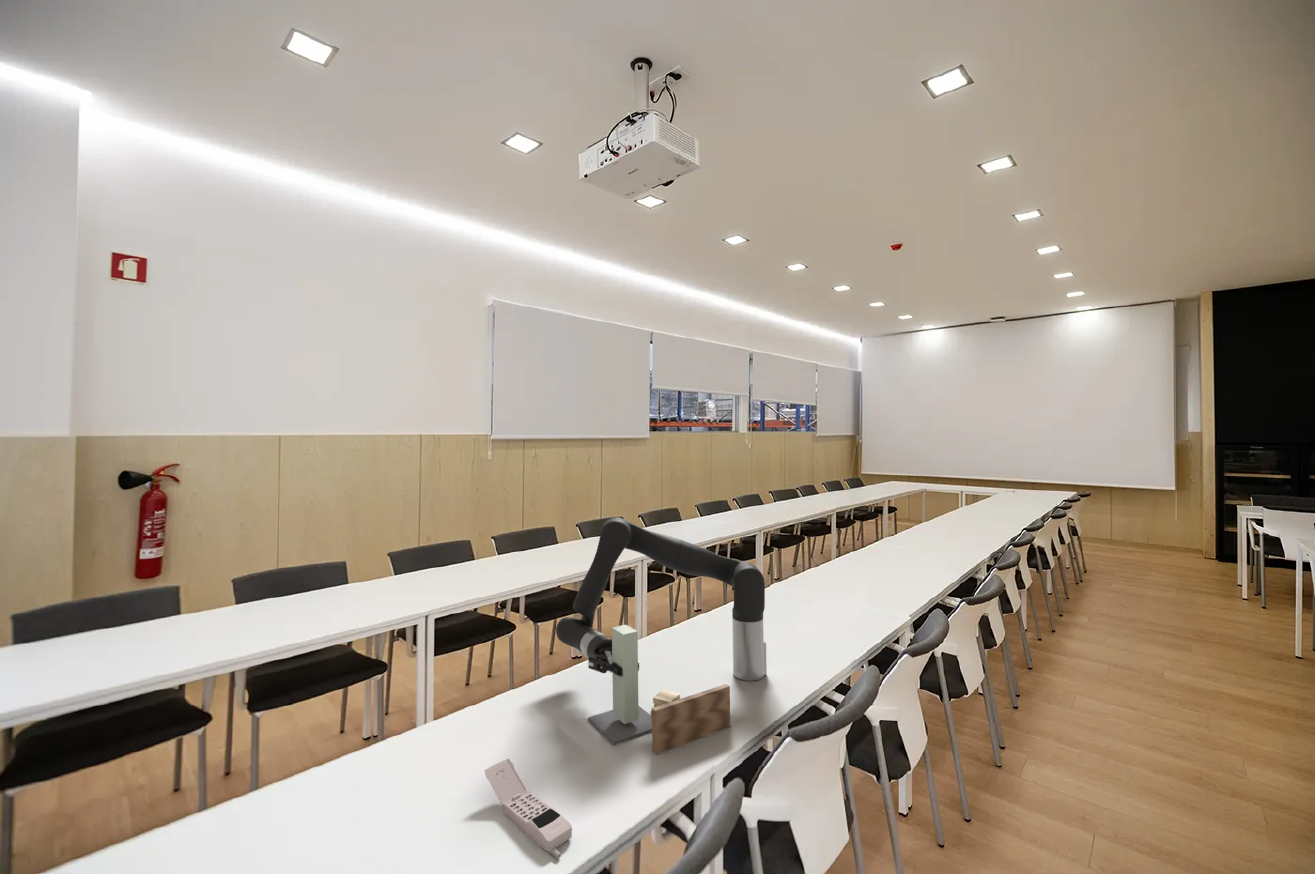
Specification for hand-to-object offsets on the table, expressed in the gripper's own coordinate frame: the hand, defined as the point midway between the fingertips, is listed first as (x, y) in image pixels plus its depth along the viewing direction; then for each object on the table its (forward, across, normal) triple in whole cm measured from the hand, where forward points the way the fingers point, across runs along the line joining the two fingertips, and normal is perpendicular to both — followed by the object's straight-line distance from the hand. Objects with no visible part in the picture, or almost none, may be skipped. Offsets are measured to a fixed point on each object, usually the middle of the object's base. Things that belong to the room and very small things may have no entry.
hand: (629, 670), depth 137 cm
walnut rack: (+9, +10, +14) cm, 20 cm away
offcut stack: (-2, +12, +15) cm, 19 cm away
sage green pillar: (-2, 0, +12) cm, 13 cm away
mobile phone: (+18, -32, +15) cm, 40 cm away
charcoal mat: (-3, 0, +14) cm, 15 cm away
